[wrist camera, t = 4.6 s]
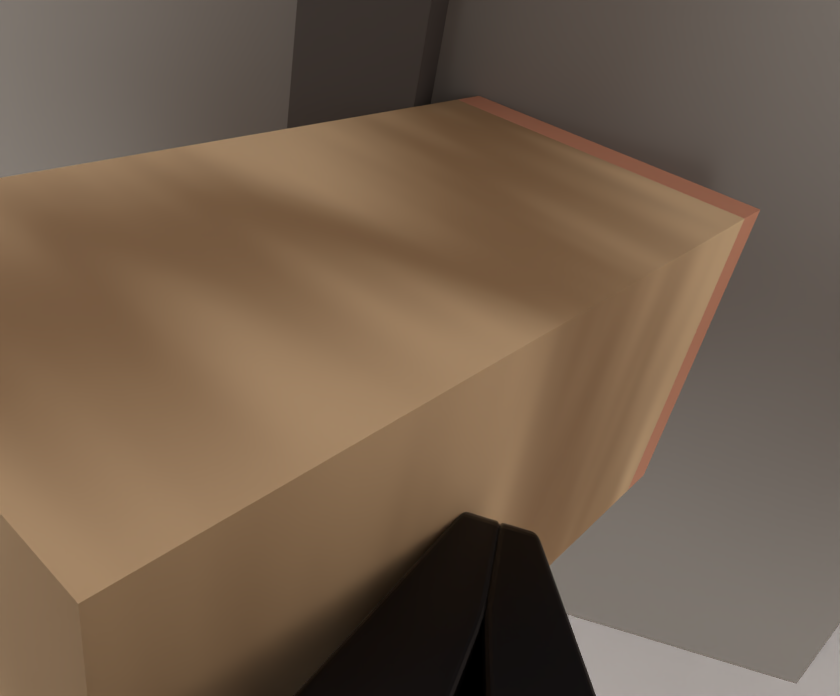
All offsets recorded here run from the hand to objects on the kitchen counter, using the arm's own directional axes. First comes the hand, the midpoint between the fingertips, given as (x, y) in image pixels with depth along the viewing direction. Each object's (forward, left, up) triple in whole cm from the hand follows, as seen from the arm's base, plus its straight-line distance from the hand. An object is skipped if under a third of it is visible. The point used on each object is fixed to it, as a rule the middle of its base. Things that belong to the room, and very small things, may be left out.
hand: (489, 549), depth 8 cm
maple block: (0, 0, -7) cm, 7 cm away
